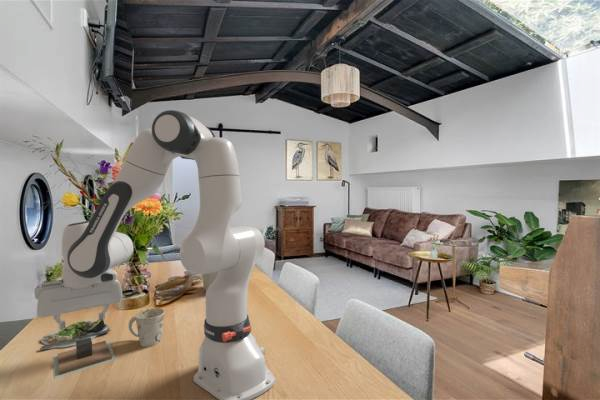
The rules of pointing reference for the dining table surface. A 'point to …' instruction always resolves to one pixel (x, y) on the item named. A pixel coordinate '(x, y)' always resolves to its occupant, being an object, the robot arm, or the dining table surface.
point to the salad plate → (74, 334)
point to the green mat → (56, 368)
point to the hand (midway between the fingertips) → (82, 323)
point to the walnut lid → (83, 355)
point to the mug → (148, 326)
